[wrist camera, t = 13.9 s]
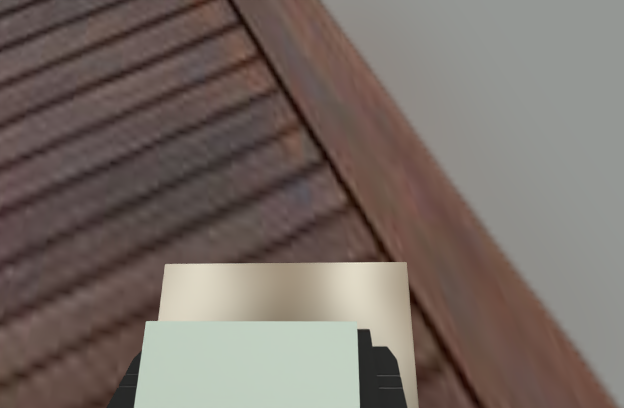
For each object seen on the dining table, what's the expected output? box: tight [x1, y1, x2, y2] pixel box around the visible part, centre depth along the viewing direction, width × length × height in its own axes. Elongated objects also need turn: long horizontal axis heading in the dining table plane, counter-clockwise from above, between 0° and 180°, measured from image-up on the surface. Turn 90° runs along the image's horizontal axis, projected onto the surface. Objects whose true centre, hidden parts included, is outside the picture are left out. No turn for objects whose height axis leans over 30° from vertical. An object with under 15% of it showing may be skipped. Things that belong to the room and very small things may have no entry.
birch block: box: [158, 262, 419, 408], centre depth 19 cm, size 11×11×6 cm
